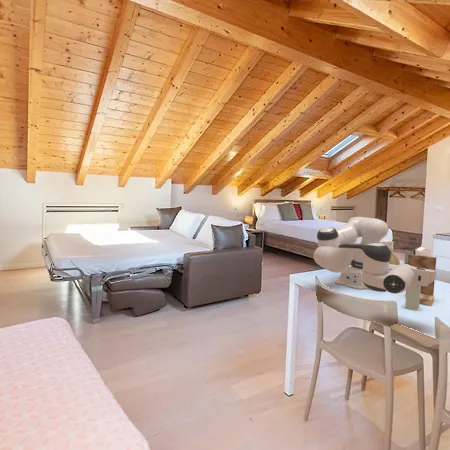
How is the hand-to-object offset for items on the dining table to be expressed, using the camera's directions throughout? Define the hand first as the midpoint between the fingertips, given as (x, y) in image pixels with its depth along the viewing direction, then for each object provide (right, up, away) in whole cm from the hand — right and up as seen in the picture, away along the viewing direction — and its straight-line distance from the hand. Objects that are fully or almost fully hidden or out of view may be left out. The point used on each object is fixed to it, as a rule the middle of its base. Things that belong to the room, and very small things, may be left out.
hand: (411, 268), depth 149 cm
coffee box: (+40, -13, +73) cm, 85 cm away
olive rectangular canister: (+7, -20, +13) cm, 25 cm away
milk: (+36, -15, +56) cm, 68 cm away
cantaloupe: (+22, -13, +71) cm, 75 cm away
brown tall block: (+18, -19, +25) cm, 36 cm away
